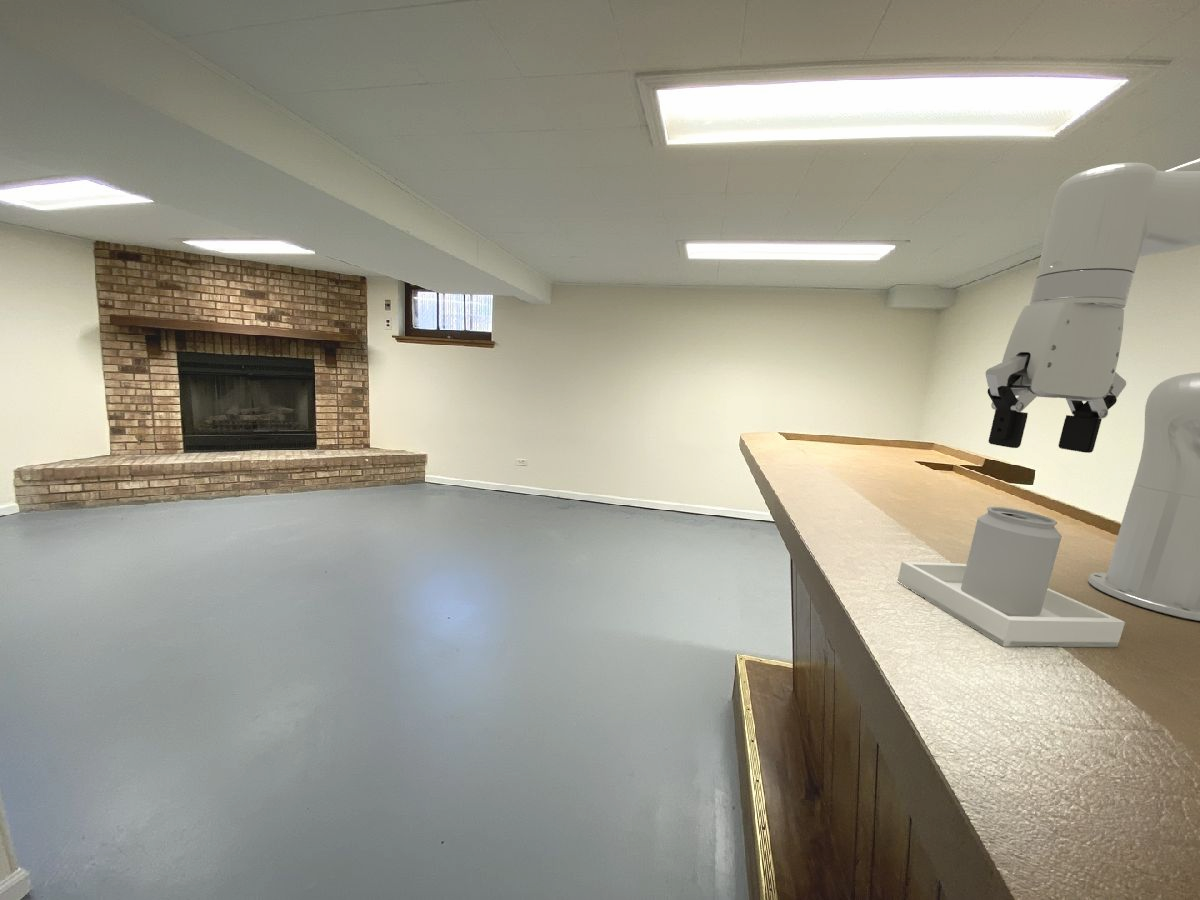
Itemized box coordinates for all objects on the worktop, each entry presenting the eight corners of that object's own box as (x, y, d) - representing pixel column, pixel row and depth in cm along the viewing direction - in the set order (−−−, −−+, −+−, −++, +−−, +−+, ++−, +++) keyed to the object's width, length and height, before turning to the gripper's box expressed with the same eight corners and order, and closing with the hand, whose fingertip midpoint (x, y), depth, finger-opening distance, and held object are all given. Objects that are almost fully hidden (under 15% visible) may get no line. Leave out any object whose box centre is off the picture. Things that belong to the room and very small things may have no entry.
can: (1006, 596, 60) (1029, 507, 58) (1056, 627, 52) (1085, 527, 50) (945, 588, 60) (966, 500, 58) (987, 618, 53) (1012, 518, 51)
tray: (989, 584, 65) (995, 564, 64) (1117, 647, 50) (1125, 622, 50) (897, 582, 63) (901, 561, 62) (1002, 646, 48) (1009, 620, 48)
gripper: (1102, 306, 55) (1065, 446, 58) (977, 291, 53) (945, 438, 56) (1188, 298, 48) (1141, 458, 51) (1048, 280, 45) (1007, 450, 48)
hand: (1039, 448), depth 53 cm, fingers open, 9 cm apart
